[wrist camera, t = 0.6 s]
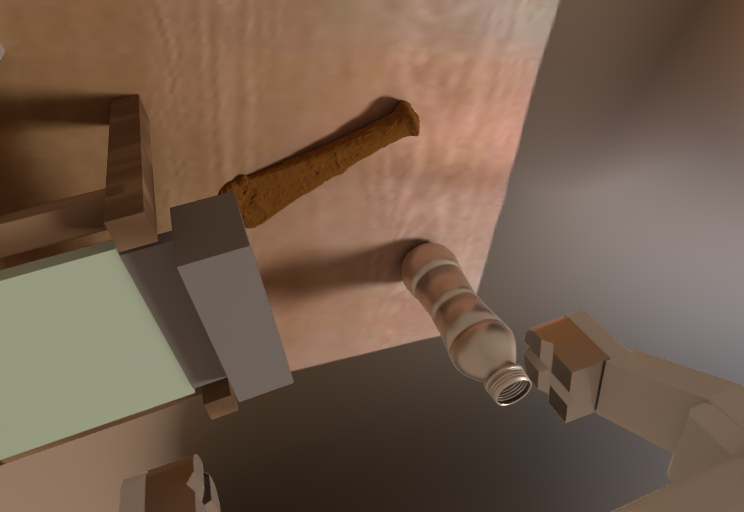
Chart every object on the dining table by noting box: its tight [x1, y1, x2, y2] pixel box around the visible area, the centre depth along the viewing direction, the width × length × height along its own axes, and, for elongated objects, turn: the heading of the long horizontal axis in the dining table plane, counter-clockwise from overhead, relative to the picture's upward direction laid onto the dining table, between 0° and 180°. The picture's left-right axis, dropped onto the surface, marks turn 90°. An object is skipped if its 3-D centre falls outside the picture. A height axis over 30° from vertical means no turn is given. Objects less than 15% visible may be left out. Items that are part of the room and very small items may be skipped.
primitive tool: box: [219, 100, 420, 228], centre depth 46 cm, size 19×6×4 cm, turn 115°
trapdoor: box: [0, 191, 294, 460], centre depth 32 cm, size 14×21×6 cm, turn 95°
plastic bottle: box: [401, 243, 532, 406], centre depth 53 cm, size 6×7×20 cm
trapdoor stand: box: [0, 95, 238, 465], centre depth 37 cm, size 19×19×16 cm
